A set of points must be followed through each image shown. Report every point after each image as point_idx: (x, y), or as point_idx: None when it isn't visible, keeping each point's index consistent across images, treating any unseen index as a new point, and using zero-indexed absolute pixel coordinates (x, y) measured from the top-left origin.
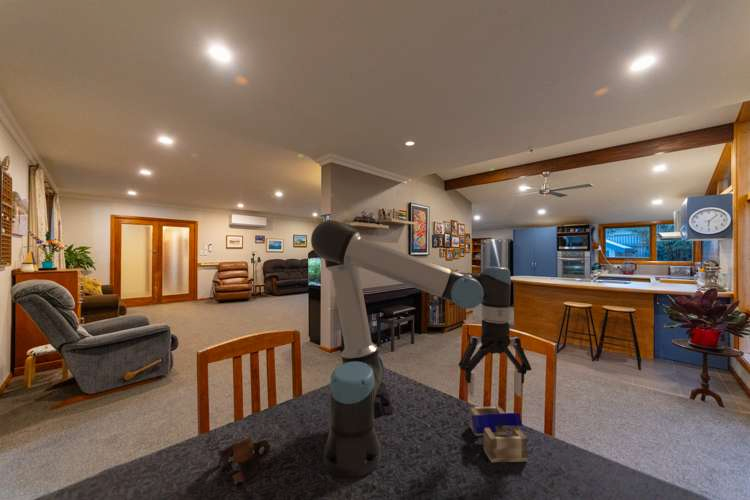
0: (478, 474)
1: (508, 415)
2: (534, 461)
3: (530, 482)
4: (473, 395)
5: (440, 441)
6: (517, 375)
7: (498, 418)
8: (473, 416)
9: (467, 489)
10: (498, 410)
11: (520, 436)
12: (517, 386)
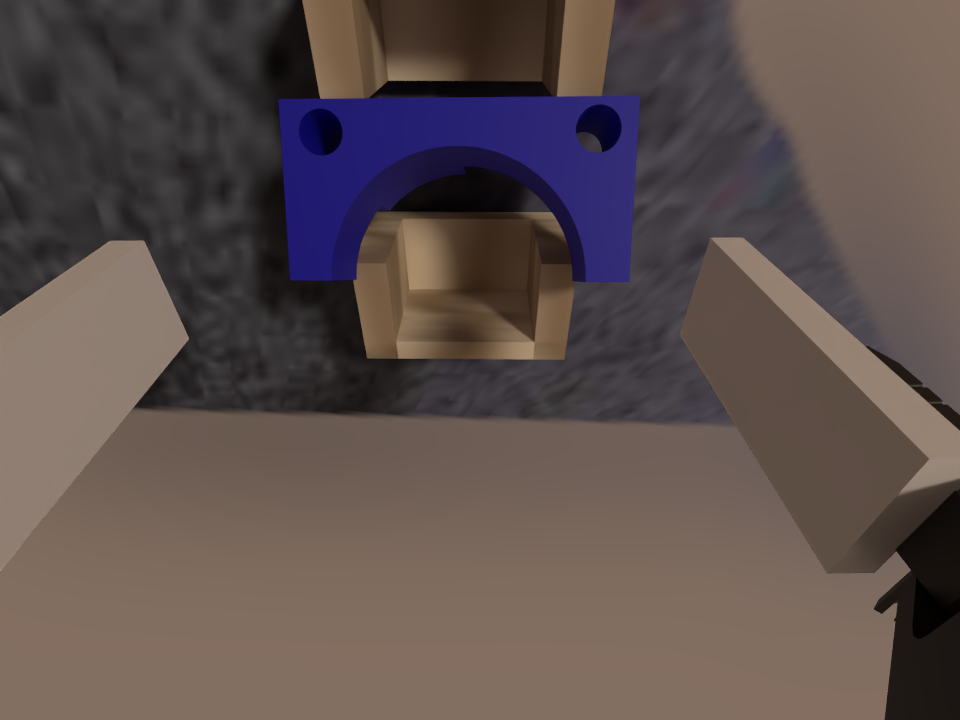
0: (318, 350)
1: (564, 209)
2: (583, 296)
3: (496, 385)
4: (184, 341)
5: (128, 129)
6: (816, 495)
7: (497, 159)
8: (286, 167)
9: (270, 401)
10: (567, 4)
11: (539, 343)
12: (727, 380)
